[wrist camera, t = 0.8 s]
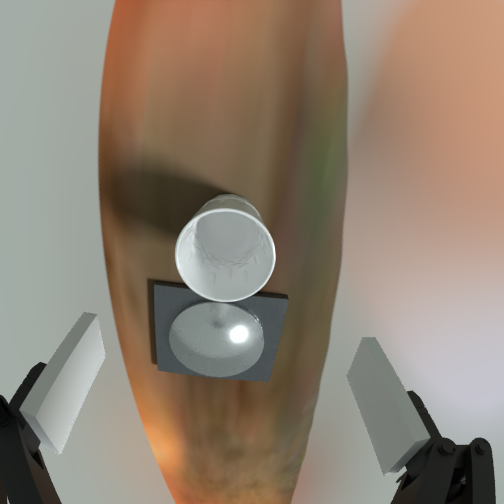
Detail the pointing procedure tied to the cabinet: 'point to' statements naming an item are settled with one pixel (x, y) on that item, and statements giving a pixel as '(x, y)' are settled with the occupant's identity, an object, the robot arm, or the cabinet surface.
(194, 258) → the white cup
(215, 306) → the duct collar
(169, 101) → the cabinet surface
